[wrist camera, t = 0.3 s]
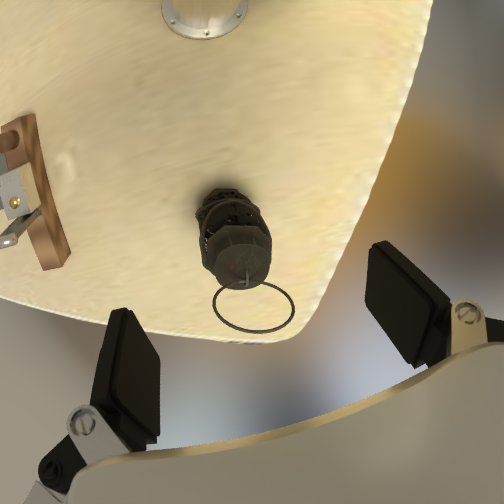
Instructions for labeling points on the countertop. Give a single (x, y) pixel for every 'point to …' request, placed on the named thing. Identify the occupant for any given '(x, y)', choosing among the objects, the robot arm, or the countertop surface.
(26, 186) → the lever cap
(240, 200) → the lantern
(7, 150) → the plane body
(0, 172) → the mat
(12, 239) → the lever
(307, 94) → the countertop surface
